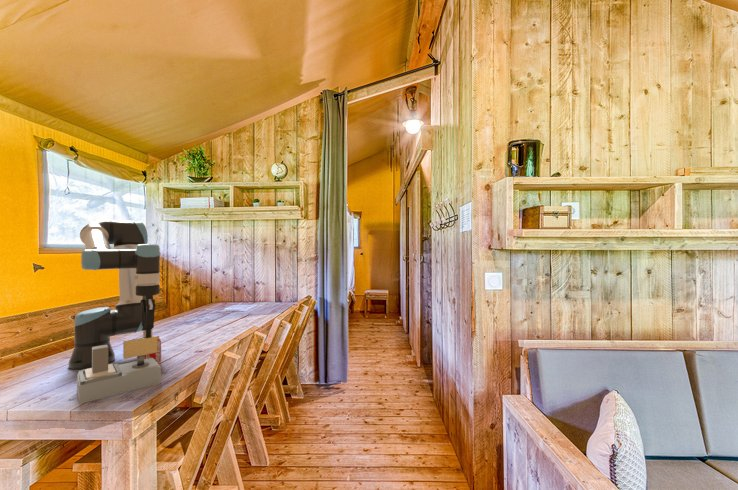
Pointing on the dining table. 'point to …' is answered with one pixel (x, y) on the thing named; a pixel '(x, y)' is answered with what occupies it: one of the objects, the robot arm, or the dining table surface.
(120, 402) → the dining table surface
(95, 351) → the cover
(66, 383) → the dining table surface
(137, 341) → the tan sign on stand
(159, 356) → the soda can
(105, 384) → the case
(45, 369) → the dining table surface
